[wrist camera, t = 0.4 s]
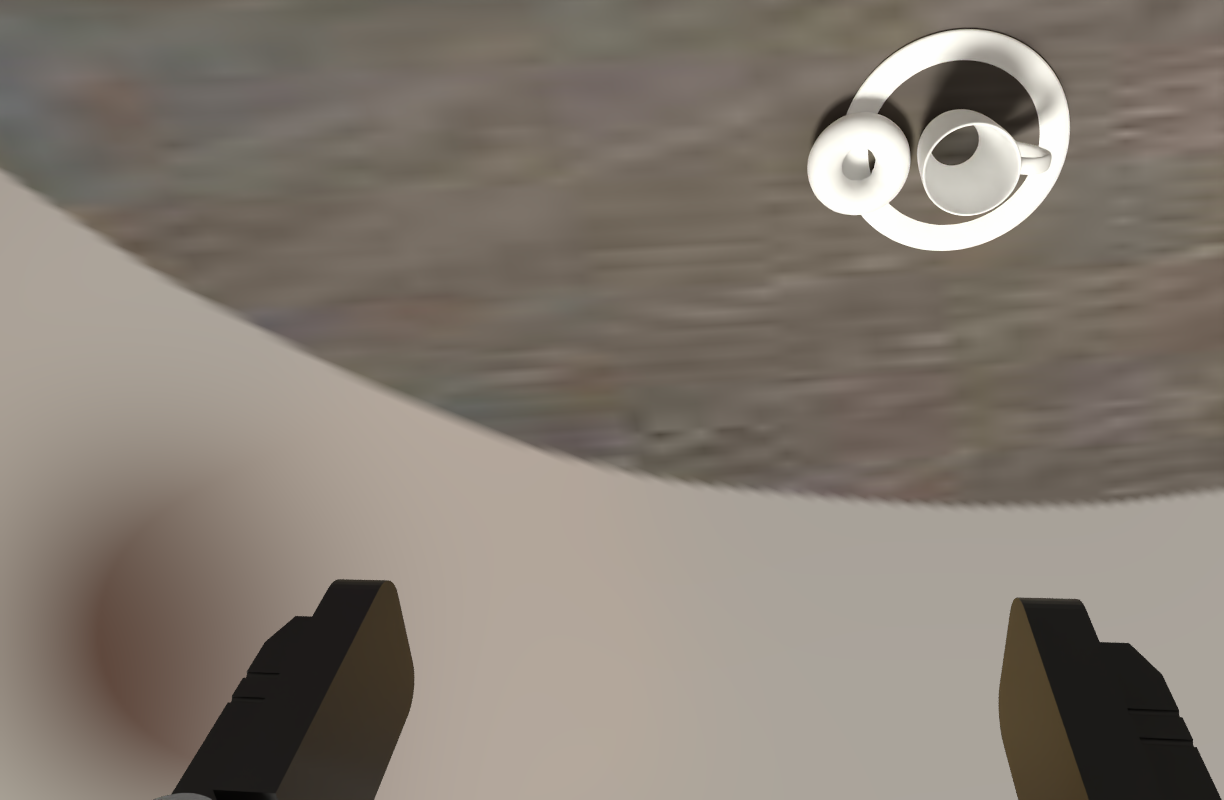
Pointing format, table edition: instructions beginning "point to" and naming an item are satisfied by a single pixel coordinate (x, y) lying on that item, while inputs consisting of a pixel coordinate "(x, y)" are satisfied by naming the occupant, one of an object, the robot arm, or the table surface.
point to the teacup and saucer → (952, 188)
